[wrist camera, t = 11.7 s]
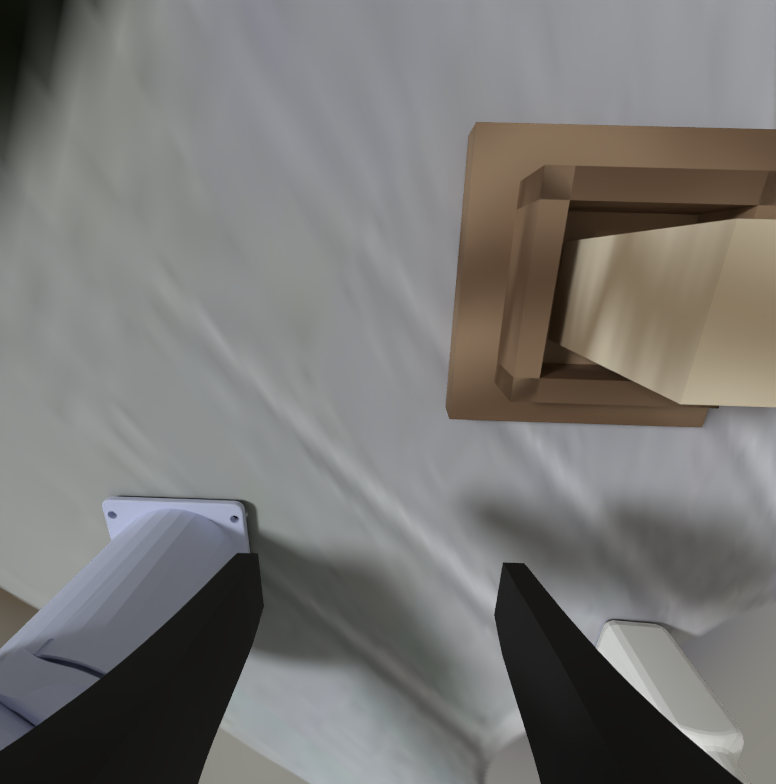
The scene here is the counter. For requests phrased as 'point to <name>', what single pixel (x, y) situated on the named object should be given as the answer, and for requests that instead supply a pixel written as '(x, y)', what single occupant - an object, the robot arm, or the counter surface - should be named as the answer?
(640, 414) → the peg holder
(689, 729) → the salt shaker
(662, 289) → the birch peg
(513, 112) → the counter surface
